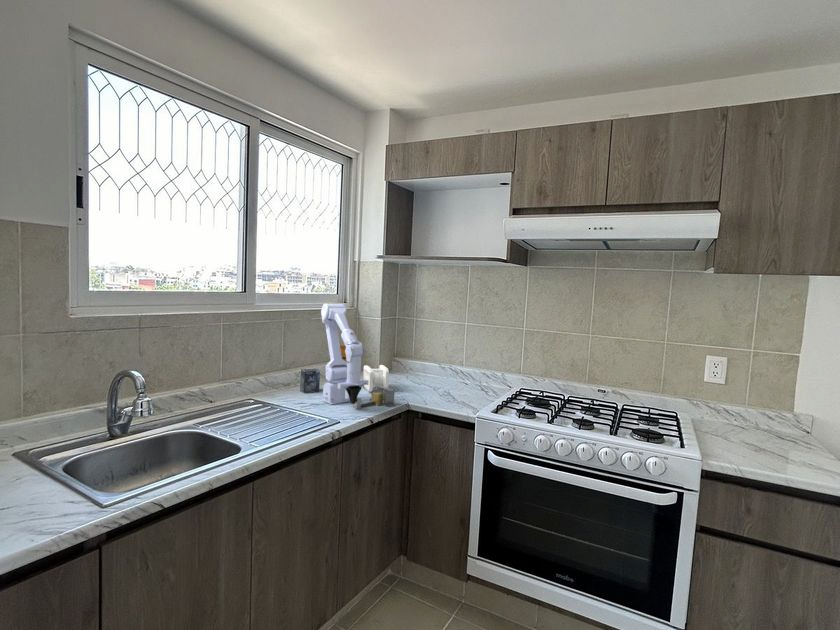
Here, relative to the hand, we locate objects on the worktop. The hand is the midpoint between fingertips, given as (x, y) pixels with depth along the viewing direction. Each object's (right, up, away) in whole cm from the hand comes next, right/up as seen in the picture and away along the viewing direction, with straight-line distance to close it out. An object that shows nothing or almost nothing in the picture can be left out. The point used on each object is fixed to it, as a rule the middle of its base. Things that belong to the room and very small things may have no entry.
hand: (352, 403), depth 190 cm
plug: (+6, -2, +6) cm, 9 cm away
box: (-25, 0, +26) cm, 36 cm away
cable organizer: (+6, -1, +36) cm, 37 cm away
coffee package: (-10, +1, +40) cm, 41 cm away
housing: (+12, -2, +12) cm, 17 cm away
